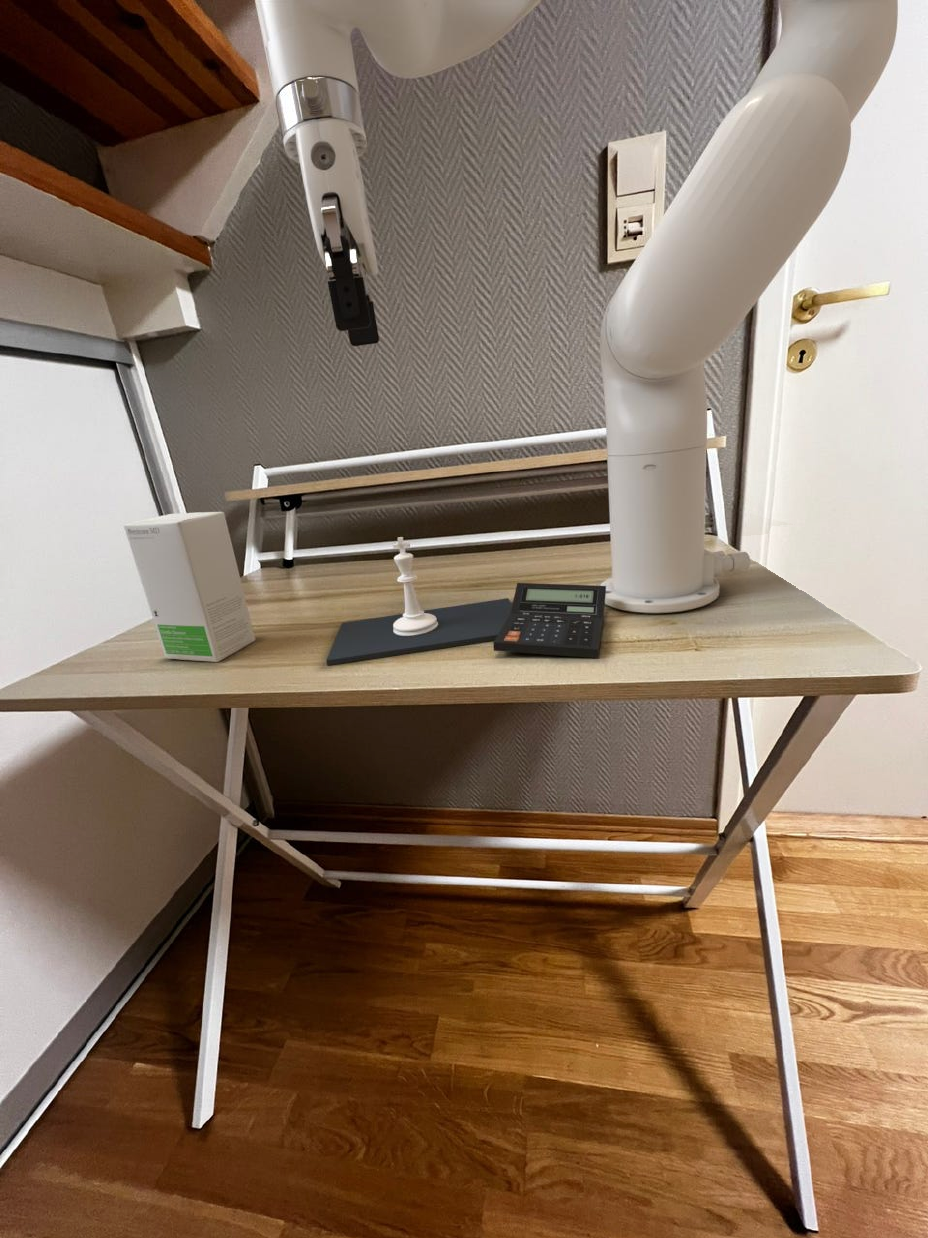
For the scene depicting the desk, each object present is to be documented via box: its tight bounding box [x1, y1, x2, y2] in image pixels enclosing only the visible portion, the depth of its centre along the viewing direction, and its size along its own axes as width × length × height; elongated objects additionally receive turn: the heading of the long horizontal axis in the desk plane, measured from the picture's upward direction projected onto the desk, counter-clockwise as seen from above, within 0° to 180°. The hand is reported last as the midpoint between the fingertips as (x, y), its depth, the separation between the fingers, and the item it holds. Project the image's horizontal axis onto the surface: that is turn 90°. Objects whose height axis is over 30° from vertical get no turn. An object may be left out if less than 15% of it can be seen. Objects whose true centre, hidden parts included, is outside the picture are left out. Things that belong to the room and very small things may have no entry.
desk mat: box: [325, 597, 512, 666], centre depth 59 cm, size 20×11×1 cm, turn 94°
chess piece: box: [392, 536, 438, 636], centre depth 57 cm, size 5×5×10 cm
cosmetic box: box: [123, 511, 256, 663], centre depth 60 cm, size 8×7×16 cm
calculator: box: [492, 582, 606, 659], centre depth 53 cm, size 9×12×3 cm
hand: (360, 337), depth 55 cm, fingers open, 9 cm apart
